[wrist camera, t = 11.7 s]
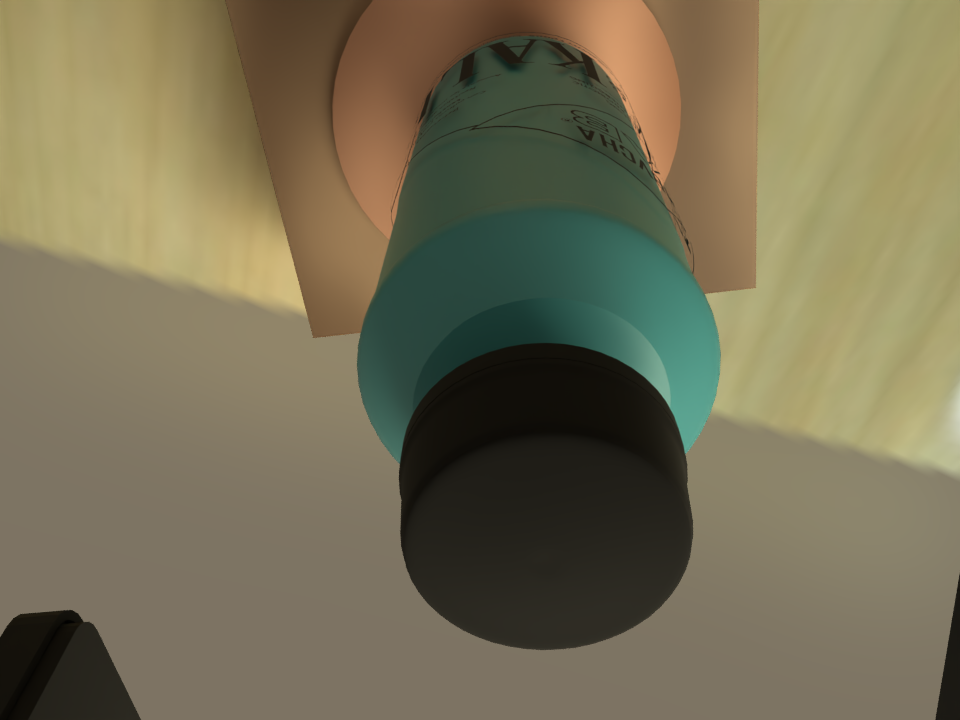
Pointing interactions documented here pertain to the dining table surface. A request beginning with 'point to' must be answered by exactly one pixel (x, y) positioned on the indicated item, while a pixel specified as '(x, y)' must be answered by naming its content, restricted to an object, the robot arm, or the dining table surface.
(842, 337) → the dining table surface
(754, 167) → the wooden u-channel bracket
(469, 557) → the beverage bottle
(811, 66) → the dining table surface
